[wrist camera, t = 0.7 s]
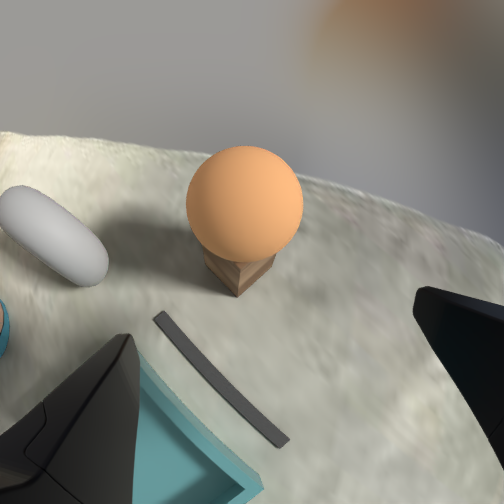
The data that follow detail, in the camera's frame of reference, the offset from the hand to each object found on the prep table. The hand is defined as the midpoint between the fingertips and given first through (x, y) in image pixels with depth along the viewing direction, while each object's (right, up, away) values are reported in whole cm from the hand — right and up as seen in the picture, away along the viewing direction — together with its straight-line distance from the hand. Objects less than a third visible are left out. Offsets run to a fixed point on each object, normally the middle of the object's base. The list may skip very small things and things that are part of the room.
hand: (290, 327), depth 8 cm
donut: (-16, +1, +14) cm, 21 cm away
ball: (-1, +5, +7) cm, 9 cm away
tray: (-9, -13, +8) cm, 18 cm away
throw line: (-3, -7, +11) cm, 14 cm away
